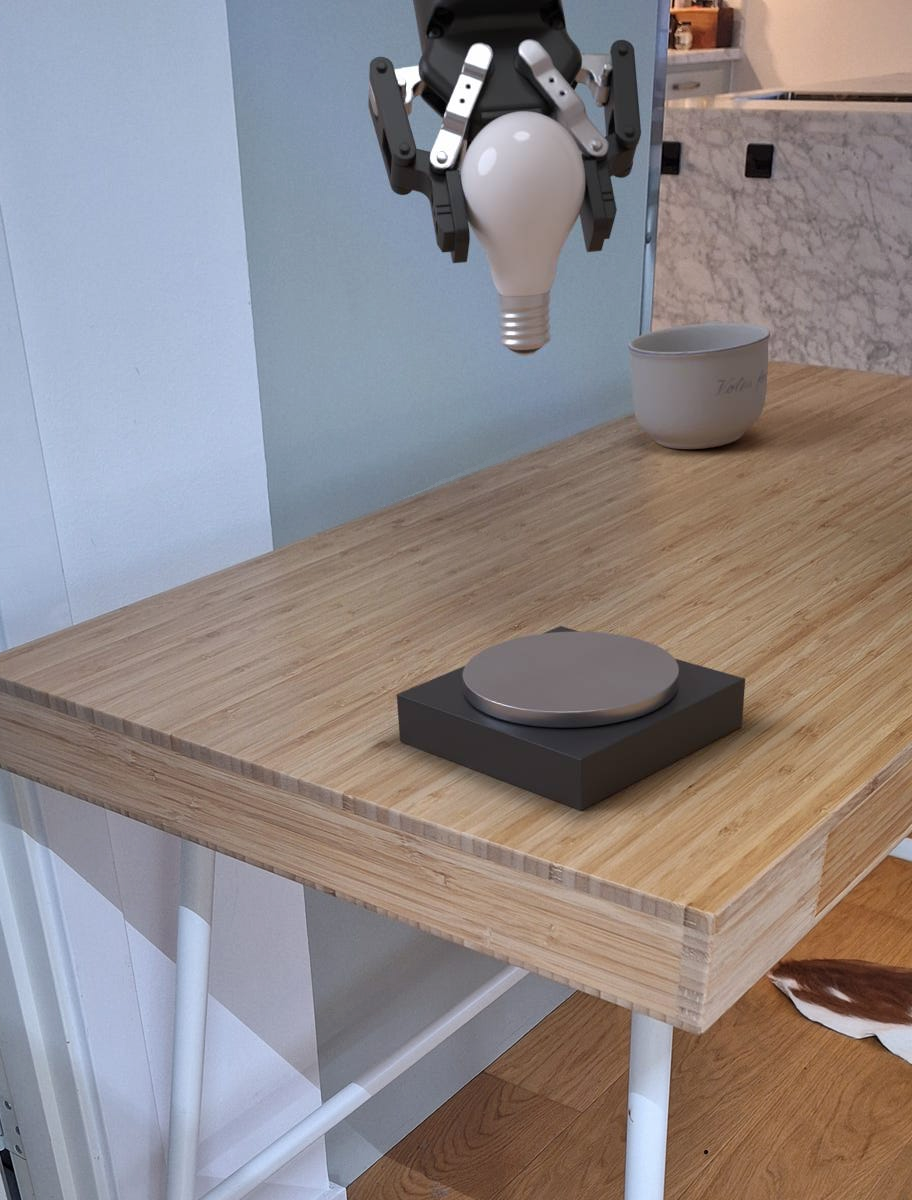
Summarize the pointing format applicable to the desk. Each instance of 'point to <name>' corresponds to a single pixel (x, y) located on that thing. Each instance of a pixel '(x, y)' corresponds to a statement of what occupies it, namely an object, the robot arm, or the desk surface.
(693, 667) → the scale
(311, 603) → the desk surface
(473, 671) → the scale pan
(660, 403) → the teacup
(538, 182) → the lightbulb
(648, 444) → the desk surface
